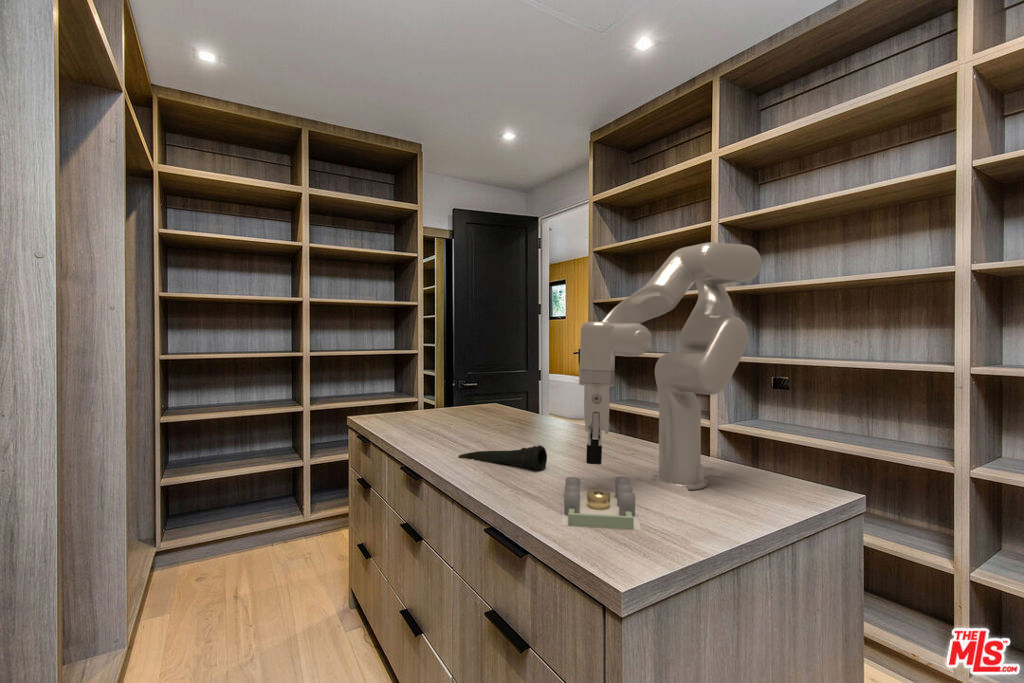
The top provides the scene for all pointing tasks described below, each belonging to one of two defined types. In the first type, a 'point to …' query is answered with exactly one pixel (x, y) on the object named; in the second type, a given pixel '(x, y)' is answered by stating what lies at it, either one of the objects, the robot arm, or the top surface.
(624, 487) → the board
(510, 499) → the top surface
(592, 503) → the gold short round piece
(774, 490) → the top surface
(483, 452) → the tool
